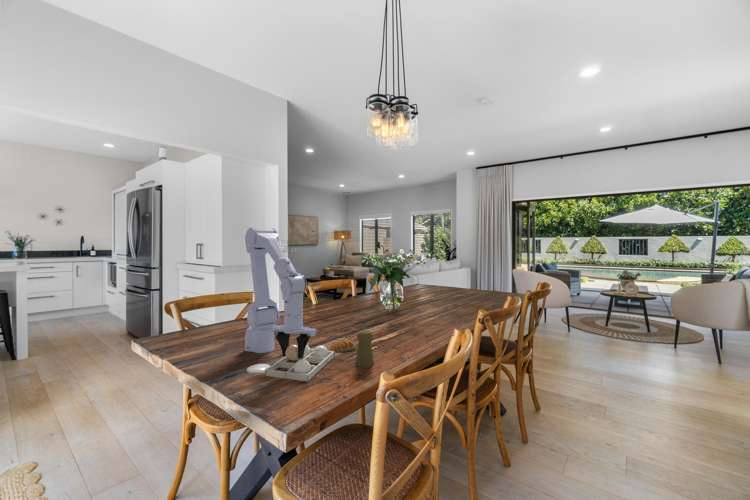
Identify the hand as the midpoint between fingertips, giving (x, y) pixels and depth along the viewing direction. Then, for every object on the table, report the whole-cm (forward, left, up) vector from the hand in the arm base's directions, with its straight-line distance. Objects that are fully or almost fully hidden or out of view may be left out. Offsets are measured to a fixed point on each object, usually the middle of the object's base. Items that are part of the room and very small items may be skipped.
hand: (293, 356), depth 102 cm
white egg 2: (0, +6, -3) cm, 7 cm away
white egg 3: (+7, +6, -3) cm, 10 cm away
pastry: (+10, +19, -4) cm, 22 cm away
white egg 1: (+7, -7, -3) cm, 10 cm away
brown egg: (0, 0, -1) cm, 1 cm away
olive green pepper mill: (+21, +8, -3) cm, 23 cm away
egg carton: (+3, 0, -3) cm, 5 cm away
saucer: (-8, -6, -3) cm, 11 cm away
